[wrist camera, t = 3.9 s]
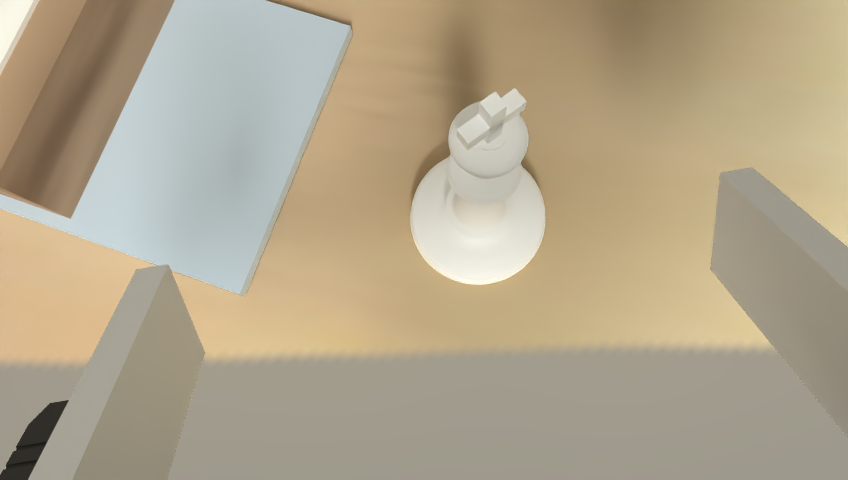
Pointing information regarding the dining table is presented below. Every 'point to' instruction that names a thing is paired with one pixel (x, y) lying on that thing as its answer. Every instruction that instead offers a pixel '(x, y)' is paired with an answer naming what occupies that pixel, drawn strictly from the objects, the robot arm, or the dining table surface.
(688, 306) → the dining table surface
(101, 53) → the walnut plinth
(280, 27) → the pale blue board
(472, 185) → the chess piece
